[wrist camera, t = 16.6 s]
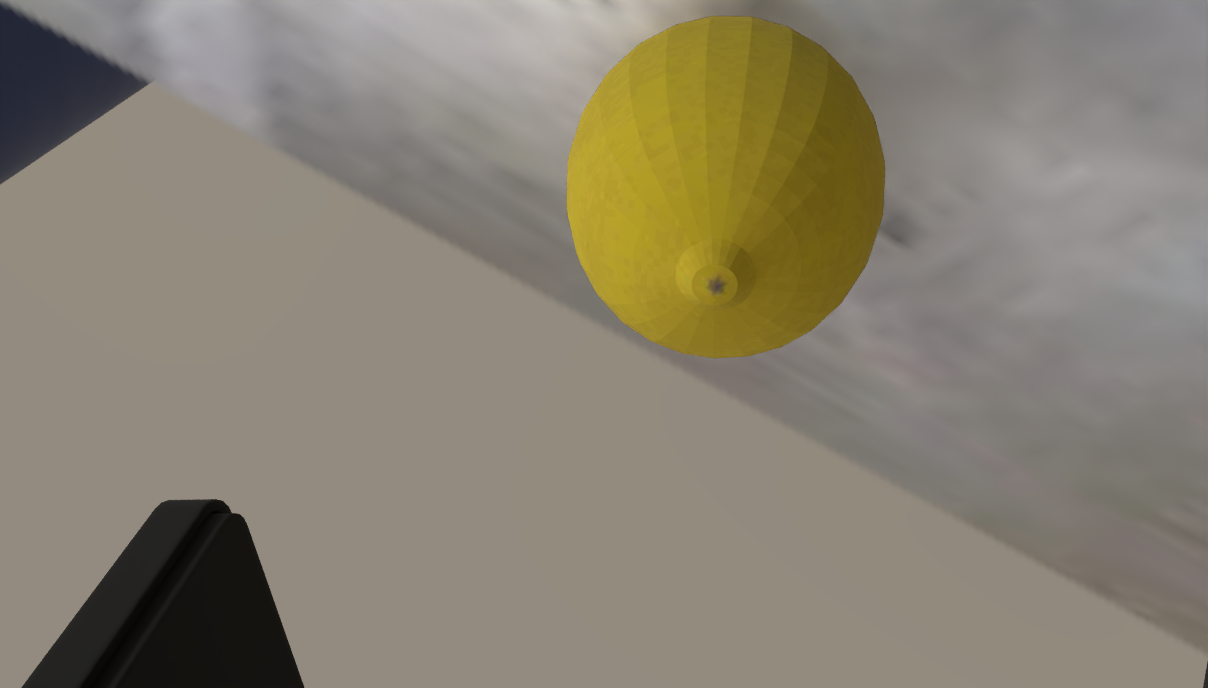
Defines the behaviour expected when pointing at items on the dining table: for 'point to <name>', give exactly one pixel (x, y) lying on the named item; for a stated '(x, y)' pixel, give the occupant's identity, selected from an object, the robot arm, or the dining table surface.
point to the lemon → (725, 186)
